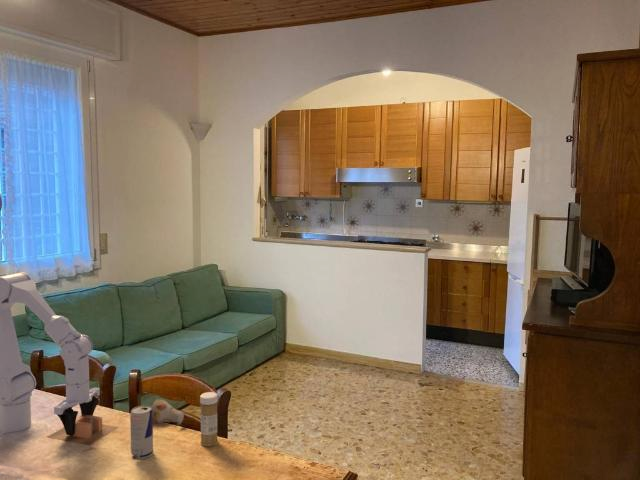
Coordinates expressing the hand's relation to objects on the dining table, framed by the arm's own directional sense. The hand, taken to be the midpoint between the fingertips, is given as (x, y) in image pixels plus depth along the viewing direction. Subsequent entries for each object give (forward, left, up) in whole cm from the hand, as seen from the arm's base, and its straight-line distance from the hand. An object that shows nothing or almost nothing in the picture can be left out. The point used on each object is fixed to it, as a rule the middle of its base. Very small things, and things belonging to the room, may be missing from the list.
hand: (78, 429), depth 139 cm
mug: (+18, +15, -2) cm, 23 cm away
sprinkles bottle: (+36, +8, -2) cm, 36 cm away
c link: (+2, 0, 0) cm, 3 cm away
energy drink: (+22, -3, -2) cm, 23 cm away
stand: (+2, 0, -2) cm, 2 cm away
